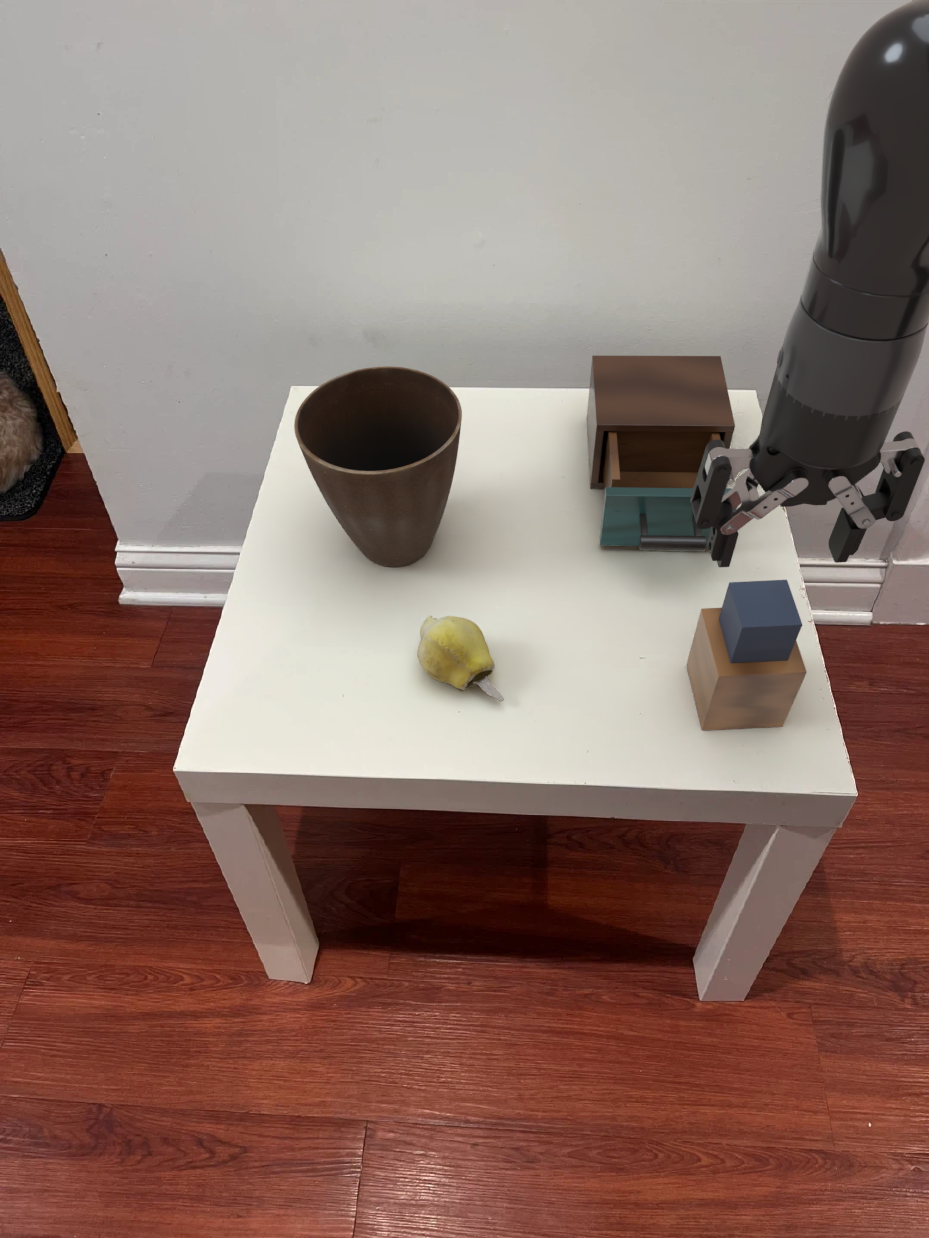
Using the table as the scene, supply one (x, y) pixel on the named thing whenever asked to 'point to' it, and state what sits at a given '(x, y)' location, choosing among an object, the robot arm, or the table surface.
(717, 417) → the cabinet
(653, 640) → the table surface
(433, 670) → the fruit
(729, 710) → the cube
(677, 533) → the drawer
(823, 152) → the robot arm
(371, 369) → the flower pot
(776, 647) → the block
